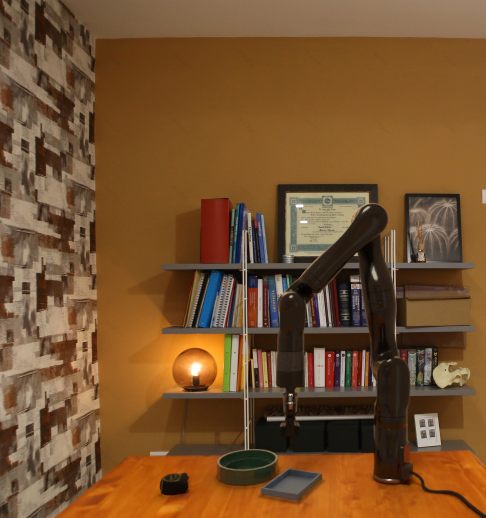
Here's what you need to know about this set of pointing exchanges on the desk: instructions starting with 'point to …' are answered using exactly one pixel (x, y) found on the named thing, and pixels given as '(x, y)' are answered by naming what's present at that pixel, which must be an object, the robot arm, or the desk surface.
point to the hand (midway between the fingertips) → (289, 434)
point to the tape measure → (174, 483)
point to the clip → (283, 429)
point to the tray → (291, 484)
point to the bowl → (247, 467)
